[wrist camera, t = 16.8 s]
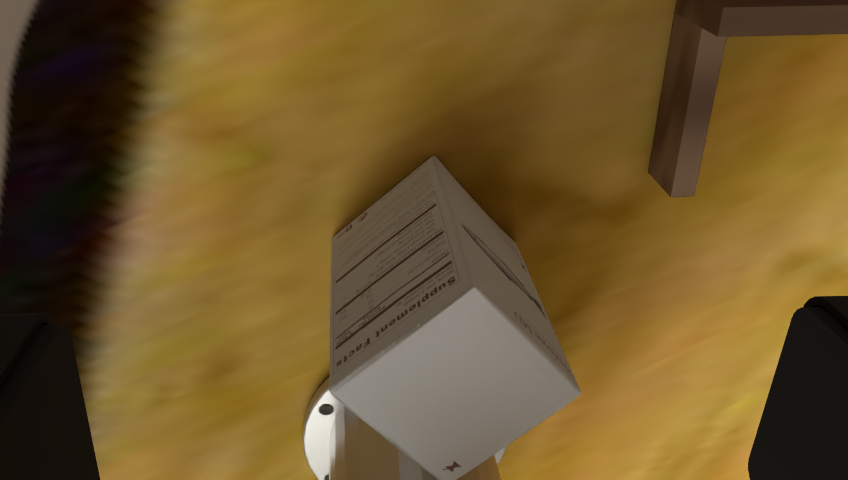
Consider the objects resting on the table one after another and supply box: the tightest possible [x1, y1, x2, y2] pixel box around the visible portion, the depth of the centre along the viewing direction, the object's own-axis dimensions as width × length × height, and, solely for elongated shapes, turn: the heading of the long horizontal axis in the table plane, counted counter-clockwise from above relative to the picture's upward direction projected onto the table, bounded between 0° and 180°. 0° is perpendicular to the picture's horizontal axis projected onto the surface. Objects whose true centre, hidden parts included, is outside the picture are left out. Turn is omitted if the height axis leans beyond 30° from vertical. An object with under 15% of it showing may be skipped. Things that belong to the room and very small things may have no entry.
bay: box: [648, 0, 848, 197], centre depth 36 cm, size 9×16×4 cm, turn 89°
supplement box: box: [329, 156, 581, 480], centre depth 34 cm, size 7×7×13 cm
